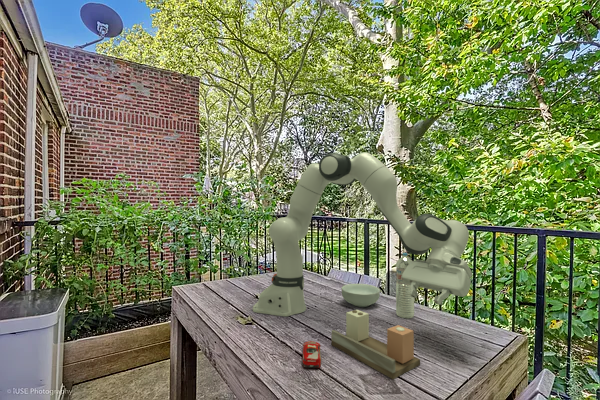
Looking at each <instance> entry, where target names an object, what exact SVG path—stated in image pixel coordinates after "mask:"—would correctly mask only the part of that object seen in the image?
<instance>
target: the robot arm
mask: <svg viewBox="0 0 600 400" xmlns="http://www.w3.org/2000/svg"><path fill="white" fill-rule="evenodd" d="M356 181H358V182H359V183H360V185H362V186H363V188H364V189H365V190H366V191H367V193H368V194H369V195H370V197H371V198H372V199H373V201H374V202H375V204H376V206H377V208H378V210H379V211H380V213H381V214H382V216H384V218H385V219H386V221H387V222H388V223H389V225H390V226H391V227H392V229H393V230H394V231H395V233H396V234H397V236H398V237H399V240H400V242H401V245H402V247H403V249H404V250H406V252H407V253H410V254H411V255H415V256H416V255H417V256H421V255H425V254H426V253H427V252H428V251H429V250H430V248H431V250H430V252H429V254H428V256H427V258H426V259H425V260H423V259H422V260H421V259H418V258H417V259H414V260H411V262H410V264H409V265H408V266H407V268H406V269H405V271H404V272H403V274H402V278H403V280H404V281H405V283H406V284H410V285H411V288H412V290H411V293H410V295H411V297H414V299H417V298H418V296H419V292H418V291H417V289H419V288H424V289H427V290H432V291H436V292H440V294H439V295H435V297H434V299H433V302H434V304H437V305H442V303H443V301H444V300H446V299H447V298H448V297H450V295H453V296H456V297H462V298H463V297H464V298H465V297H466V296H468V293H469V291H470V288H471V284H472V281H471V278H472V276H473V272H472V270H471V268H470V266H469V265H468V263H467V262H466V260H464V259H462V258H461V256H462V255H463V254H464V252H465V249H466V248H467V246H468V242H469V238H470V237H469V236H470V232H469V229H468V227H467V226H466V225H465V224H464V223H463V222H461V221H459V220H456V219H449V220H448V219H443V218H440V217H438V216H436V215H434V214H431V213H423V214H420V215H419V216H417V217H416V218H415V220H414V221H412V223H411V222H410V220H409V219H408V218H407V217H406V215H405V214H404V213H403V212H402V211H401V209H400V208H399V204H398V200H397V192H398V179H397V178H396V176H395V174H394V173H393V171H391V170H390V169H389V168H388V167H387V166H386V165H385V164H384V163H383V162H382V161H381V160H380V159H378V158H377V157H376V156H374V155H373V154H371V153H369V152H366V151H365V152H360V153H357V155H355V156H354V157H353V158H350V156H349V155H345V154H340V153H335V152H331V153H326V154H325V155H323V156H322V157H321V158H320V160H319V163H317V162H315V163H311V164H309V165H308V166H307V167H306V169H305V170H304V172H302V175H301V177H299V180H298V182H297V184H296V187H295V188H294V190H293V193H292V195H291V196H290V199H289V209H288V213H287V215H286V216H285V217H283V216H282V217H279V218H277V219H276V220H274V221H273V222H272V223H271V224H270V226H269V228H268V233H269V238H270V239H271V240H272V241H273V245H274V246H273V247H274V250H275V255H276V273H274V274H273V275H272V277H271V284H269V286H267V287H266V288H265V289H264V290H263V291H262V292H261V293H260V294H259V297H258V301H257V302H255V304H254V305H253V306H252V312H253V313H258V314H264V315H272V316H277V317H290V316H292V315H297V314H301V313H304V312H306V311H307V306H306V301H305V294H304V288H305V276H304V274H303V271H304V269H303V266H304V265H303V263H304V260H303V254H302V253H301V250H300V249H301V248H300V241H302V240H303V239H304V238H305V237H306V235H308V233H309V227H310V224H311V222H312V217H313V214H314V212H315V209H316V207H317V205H318V203H319V201H320V199H321V197H322V194H323V193H324V191H325V189H326V187H327V186H328V185H329V184H332V185H338V186H349V185H352V184H353V183H355V182H356Z"/></svg>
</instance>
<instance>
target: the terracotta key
mask: <svg viewBox="0 0 600 400" xmlns="http://www.w3.org/2000/svg"><path fill="white" fill-rule="evenodd" d="M386 330H387V331H386V344H387V356H388V357H390V358H392V359H394V360H396V361H398V362H400V363H402V364H403V363H405V362H407V361H409V360H411V359H413V358H414V357H415V355H414V353H415V351H414V350H415V348H414V347H415V345H414V344H415V342H414V341H415V337H414V335H415V333H414V330H413V329H410V328H408V327H405V326H402V325H399V324H397V325H395V326H392V327H391V326H390V327H389V328H387V329H386Z"/></svg>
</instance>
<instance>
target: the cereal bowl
mask: <svg viewBox="0 0 600 400" xmlns="http://www.w3.org/2000/svg"><path fill="white" fill-rule="evenodd" d="M380 294H381V289H379V287H378V286H375V285H371V284H366V283H348V284H345V285H343V286H342V287H341V295H342V297H343V299H344V300H345V301H346V302H347V303H349V304H351V305H352V306H355V307H359V308H366V307H369V306H370V305H373V304H375V303H377V302H378V301H379V298H380Z"/></svg>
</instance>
